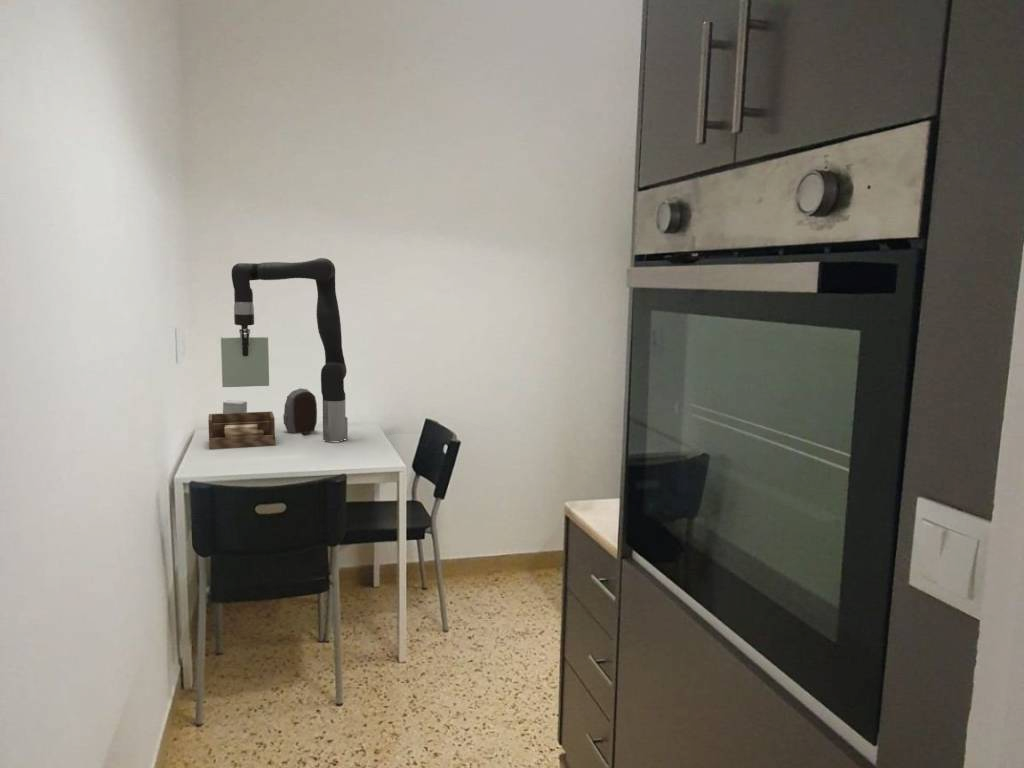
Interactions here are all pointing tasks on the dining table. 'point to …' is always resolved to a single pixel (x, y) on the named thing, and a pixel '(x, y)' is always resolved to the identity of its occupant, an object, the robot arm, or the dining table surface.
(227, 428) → the offcut top
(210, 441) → the rack
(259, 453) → the dining table surface
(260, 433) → the offcut middle
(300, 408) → the grey rounded bag
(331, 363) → the robot arm
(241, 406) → the skincare box
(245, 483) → the dining table surface
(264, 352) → the sheet
